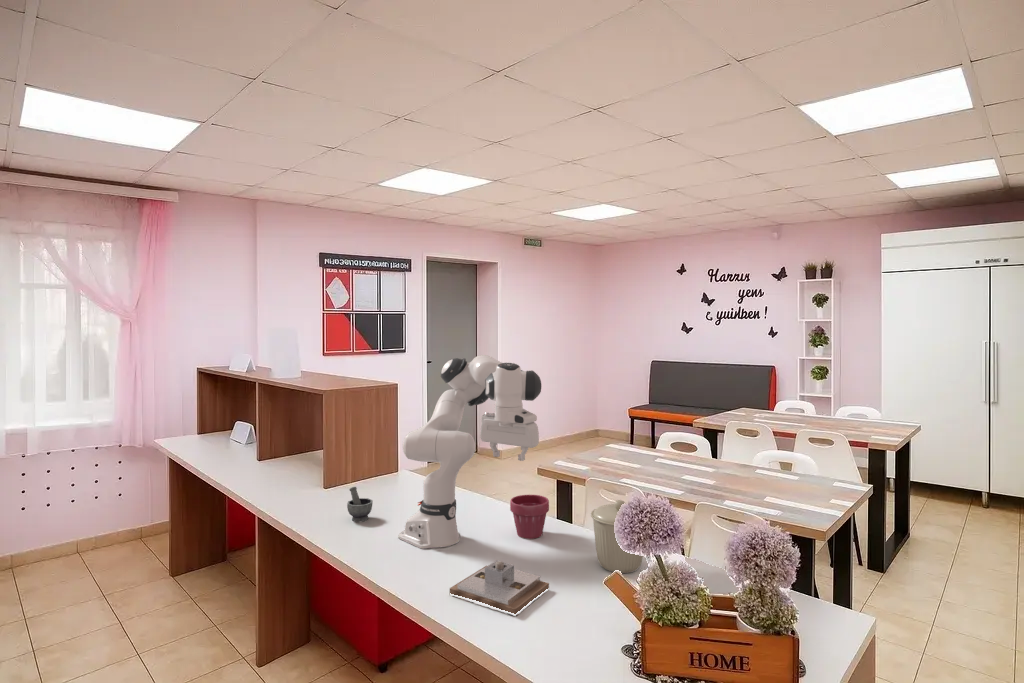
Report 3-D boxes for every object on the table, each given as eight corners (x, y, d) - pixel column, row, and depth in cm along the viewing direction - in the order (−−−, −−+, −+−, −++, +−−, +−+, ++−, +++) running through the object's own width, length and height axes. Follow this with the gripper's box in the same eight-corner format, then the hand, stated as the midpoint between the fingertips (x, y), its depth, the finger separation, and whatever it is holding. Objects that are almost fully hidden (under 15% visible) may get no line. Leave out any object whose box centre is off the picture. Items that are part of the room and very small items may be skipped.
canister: (659, 565, 181) (659, 499, 180) (630, 585, 167) (630, 513, 166) (610, 550, 193) (610, 488, 192) (579, 567, 179) (579, 501, 178)
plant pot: (510, 527, 214) (510, 493, 214) (547, 527, 214) (547, 493, 214) (510, 542, 200) (510, 505, 200) (550, 542, 200) (550, 506, 200)
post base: (449, 595, 161) (449, 565, 161) (486, 571, 176) (486, 544, 176) (515, 616, 149) (515, 584, 149) (548, 589, 164) (548, 560, 164)
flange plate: (457, 589, 160) (457, 570, 160) (492, 567, 174) (492, 550, 174) (508, 605, 151) (508, 585, 150) (540, 581, 165) (540, 562, 165)
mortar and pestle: (377, 519, 224) (377, 488, 223) (356, 525, 217) (356, 494, 216) (361, 512, 231) (361, 483, 231) (340, 518, 224) (340, 488, 224)
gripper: (476, 413, 182) (476, 456, 183) (530, 419, 171) (531, 464, 172) (487, 410, 188) (487, 452, 188) (541, 416, 177) (541, 460, 177)
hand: (508, 458), depth 180 cm, fingers open, 8 cm apart
